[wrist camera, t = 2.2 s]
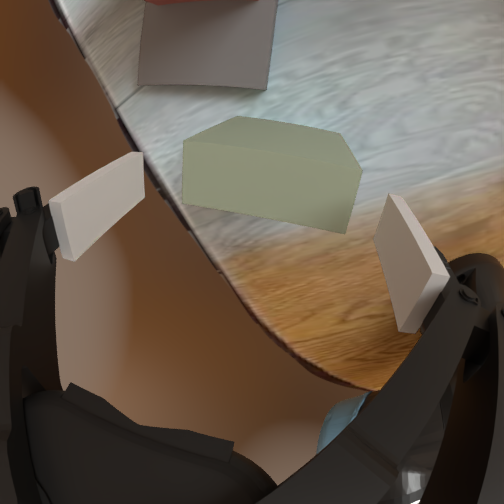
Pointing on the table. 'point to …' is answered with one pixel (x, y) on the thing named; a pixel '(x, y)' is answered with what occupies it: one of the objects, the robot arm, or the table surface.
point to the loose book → (272, 172)
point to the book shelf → (207, 42)
